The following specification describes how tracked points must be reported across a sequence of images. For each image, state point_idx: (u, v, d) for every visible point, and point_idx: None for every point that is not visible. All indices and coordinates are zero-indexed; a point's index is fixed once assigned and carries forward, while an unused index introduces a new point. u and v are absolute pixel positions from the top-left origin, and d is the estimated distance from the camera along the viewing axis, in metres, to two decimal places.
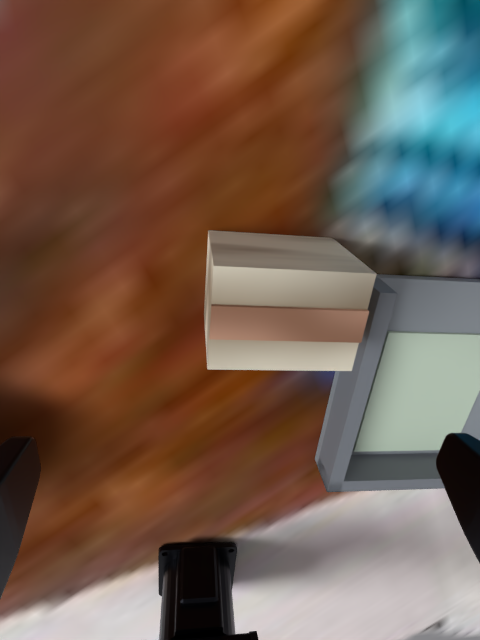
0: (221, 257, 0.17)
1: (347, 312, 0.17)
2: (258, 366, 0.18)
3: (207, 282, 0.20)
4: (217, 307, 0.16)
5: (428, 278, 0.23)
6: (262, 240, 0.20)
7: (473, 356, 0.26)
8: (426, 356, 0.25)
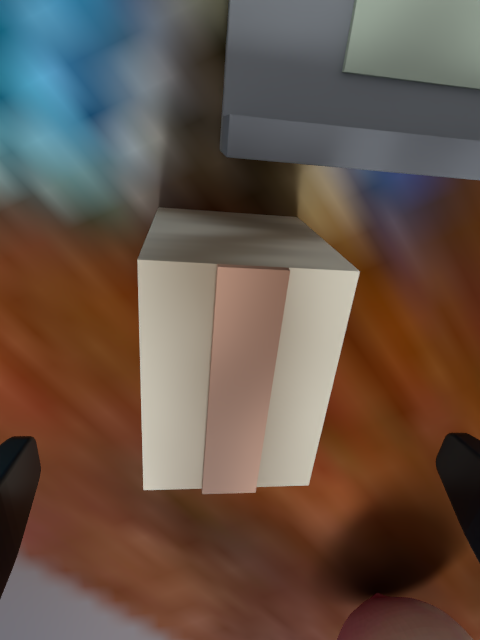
0: None
1: (218, 309, 0.09)
2: (315, 426, 0.11)
3: None
4: (205, 485, 0.11)
5: None
6: None
7: None
8: None
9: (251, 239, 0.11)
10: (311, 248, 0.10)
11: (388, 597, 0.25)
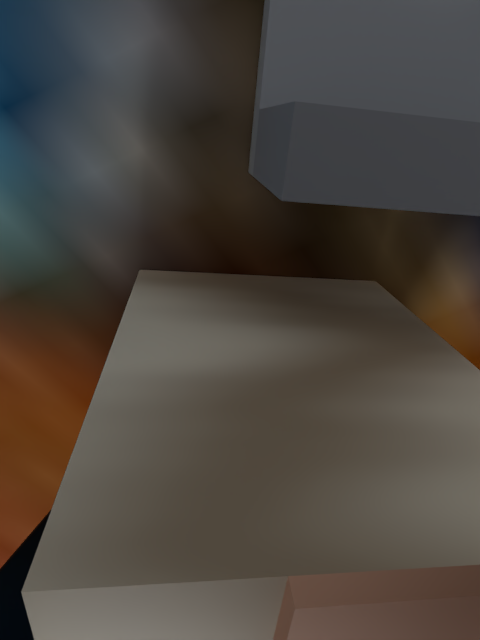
0: None
1: None
2: None
3: None
4: None
5: None
6: None
7: None
8: None
9: (333, 381, 0.05)
10: (474, 408, 0.05)
11: None
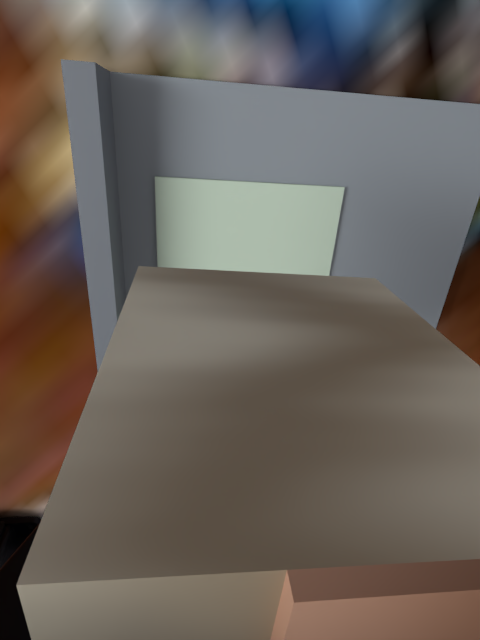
0: None
1: None
2: None
3: None
4: None
5: (201, 80, 0.15)
6: None
7: (304, 223, 0.17)
8: (228, 222, 0.17)
9: (332, 376, 0.05)
10: (474, 404, 0.05)
11: None
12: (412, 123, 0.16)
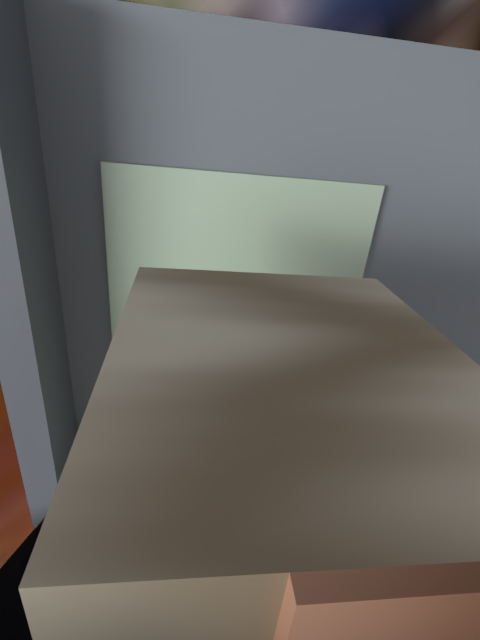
0: None
1: None
2: None
3: None
4: None
5: None
6: None
7: (323, 236, 0.12)
8: (213, 232, 0.11)
9: (334, 377, 0.05)
10: (476, 405, 0.05)
11: None
12: None
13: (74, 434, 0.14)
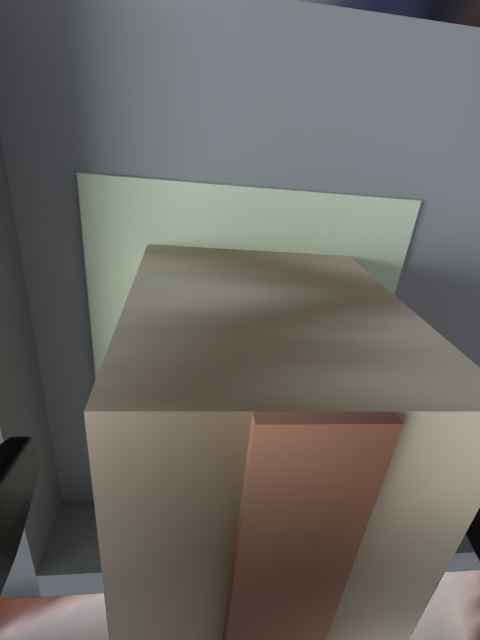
0: None
1: (253, 493, 0.04)
2: (404, 627, 0.07)
3: None
4: None
5: None
6: None
7: None
8: None
9: (299, 318, 0.06)
10: (405, 337, 0.06)
11: None
12: None
13: (54, 485, 0.12)
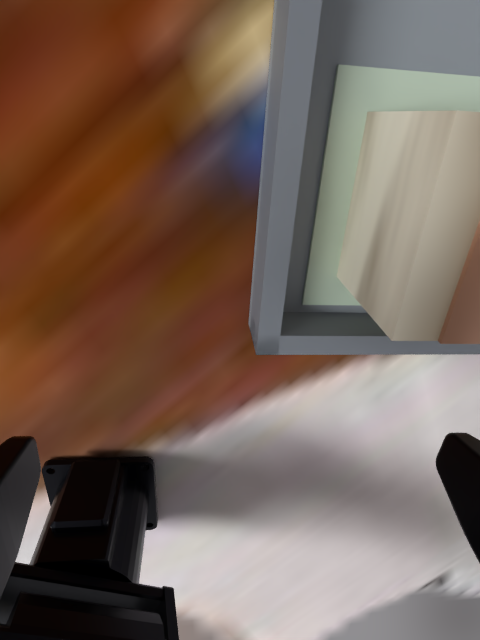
0: (380, 314, 0.14)
1: None
2: None
3: None
4: (444, 336, 0.13)
5: None
6: (359, 227, 0.16)
7: None
8: None
9: None
10: None
11: None
12: None
13: None
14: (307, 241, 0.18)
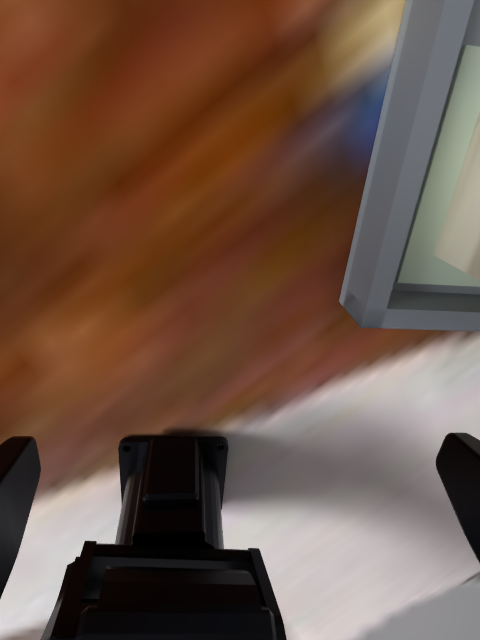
0: None
1: None
2: None
3: None
4: None
5: None
6: (472, 203, 0.17)
7: None
8: None
9: None
10: None
11: None
12: None
13: None
14: None
